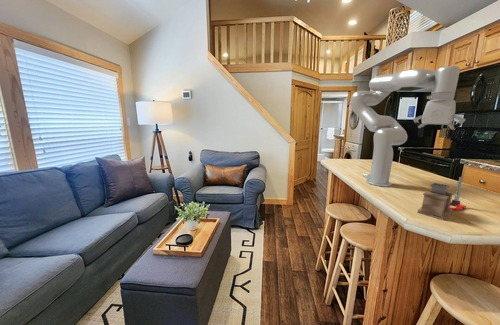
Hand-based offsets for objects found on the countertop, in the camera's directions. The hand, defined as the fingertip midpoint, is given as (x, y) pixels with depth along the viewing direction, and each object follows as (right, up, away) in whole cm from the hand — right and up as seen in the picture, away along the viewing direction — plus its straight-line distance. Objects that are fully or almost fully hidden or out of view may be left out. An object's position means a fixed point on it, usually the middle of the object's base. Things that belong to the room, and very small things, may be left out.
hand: (433, 137), depth 94 cm
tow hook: (+3, -30, -4) cm, 30 cm away
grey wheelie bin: (-9, -29, -10) cm, 32 cm away
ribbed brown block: (-9, -31, -10) cm, 33 cm away
